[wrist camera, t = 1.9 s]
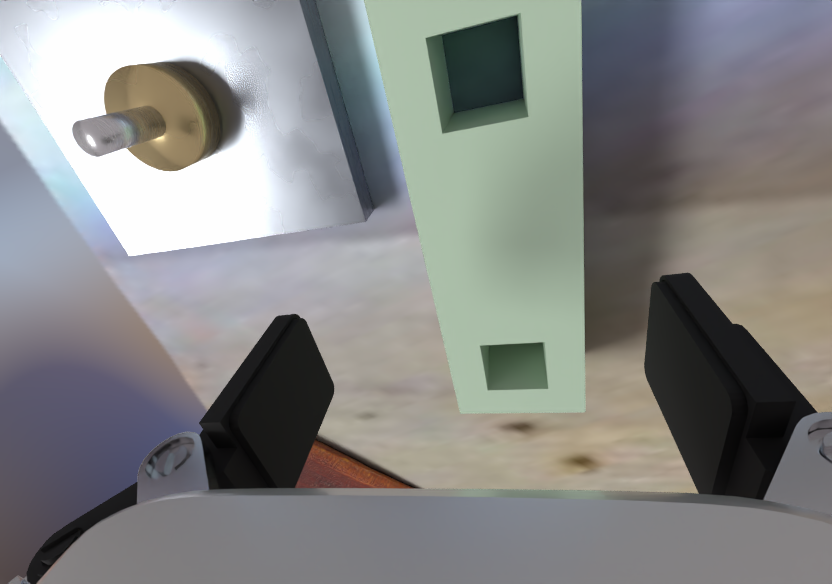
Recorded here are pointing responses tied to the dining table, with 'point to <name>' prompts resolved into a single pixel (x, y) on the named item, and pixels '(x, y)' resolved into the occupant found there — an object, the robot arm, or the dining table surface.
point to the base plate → (250, 91)
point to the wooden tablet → (340, 472)
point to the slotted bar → (496, 199)
